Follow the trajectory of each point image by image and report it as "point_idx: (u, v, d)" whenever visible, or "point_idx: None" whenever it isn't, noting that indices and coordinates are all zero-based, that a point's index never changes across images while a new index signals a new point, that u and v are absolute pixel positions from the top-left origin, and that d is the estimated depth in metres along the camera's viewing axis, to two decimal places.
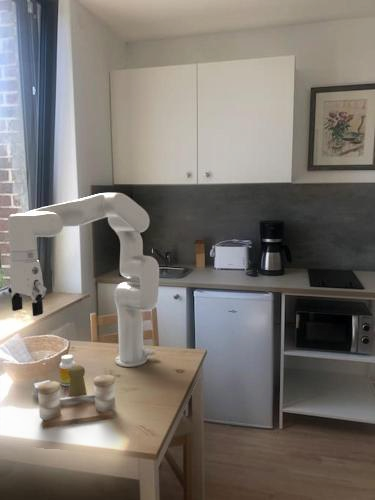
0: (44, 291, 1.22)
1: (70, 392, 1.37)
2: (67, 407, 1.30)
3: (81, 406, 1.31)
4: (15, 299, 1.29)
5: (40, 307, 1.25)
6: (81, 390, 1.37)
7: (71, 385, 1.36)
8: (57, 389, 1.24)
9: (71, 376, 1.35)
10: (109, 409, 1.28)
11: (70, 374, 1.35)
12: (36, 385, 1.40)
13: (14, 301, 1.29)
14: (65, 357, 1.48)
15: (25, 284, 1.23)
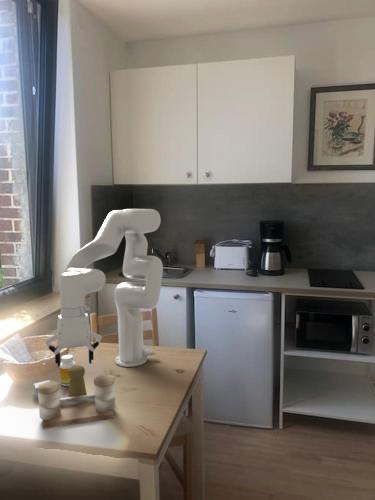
0: None
1: (70, 392, 1.37)
2: (67, 407, 1.30)
3: (81, 406, 1.31)
4: (59, 355, 1.34)
5: None
6: (81, 390, 1.37)
7: (71, 385, 1.36)
8: (57, 389, 1.24)
9: (71, 376, 1.35)
10: (109, 409, 1.28)
11: (70, 374, 1.35)
12: (36, 385, 1.40)
13: (59, 357, 1.34)
14: (65, 357, 1.48)
15: (84, 336, 1.34)
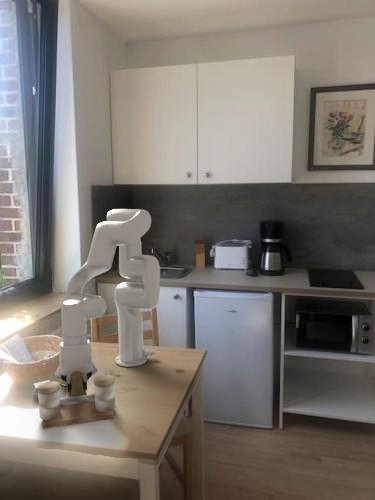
0: None
1: None
2: (67, 407, 1.30)
3: (81, 406, 1.31)
4: None
5: (86, 384, 1.39)
6: (81, 390, 1.37)
7: None
8: (57, 389, 1.24)
9: (71, 376, 1.35)
10: (109, 409, 1.28)
11: None
12: (36, 385, 1.40)
13: None
14: None
15: (86, 363, 1.36)
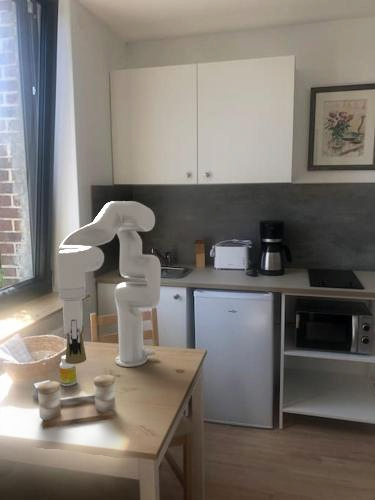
0: None
1: None
2: (67, 407, 1.30)
3: (81, 406, 1.31)
4: None
5: None
6: None
7: None
8: (57, 389, 1.24)
9: (81, 332, 1.24)
10: (109, 409, 1.28)
11: None
12: (36, 385, 1.40)
13: None
14: (65, 357, 1.48)
15: None
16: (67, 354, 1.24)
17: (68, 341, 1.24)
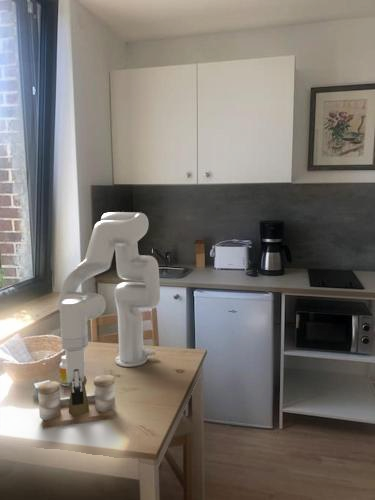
0: None
1: None
2: (67, 407, 1.30)
3: None
4: None
5: None
6: None
7: None
8: (57, 389, 1.24)
9: (83, 384, 1.27)
10: (109, 409, 1.28)
11: (82, 382, 1.26)
12: (36, 385, 1.40)
13: None
14: (65, 357, 1.48)
15: None
16: (70, 404, 1.27)
17: (71, 392, 1.27)
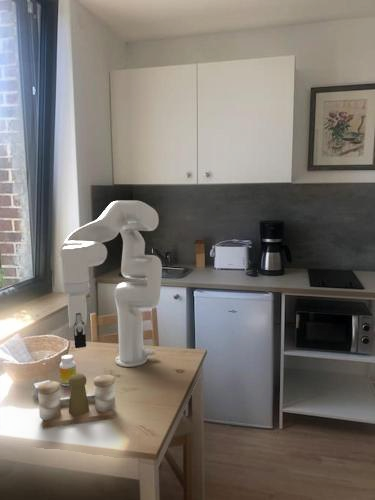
0: None
1: (82, 403, 1.27)
2: (67, 407, 1.30)
3: None
4: None
5: None
6: None
7: (82, 394, 1.27)
8: (57, 389, 1.24)
9: (83, 384, 1.27)
10: (109, 409, 1.28)
11: (82, 382, 1.26)
12: (36, 385, 1.40)
13: None
14: (65, 357, 1.48)
15: None
16: (70, 404, 1.27)
17: (71, 392, 1.27)
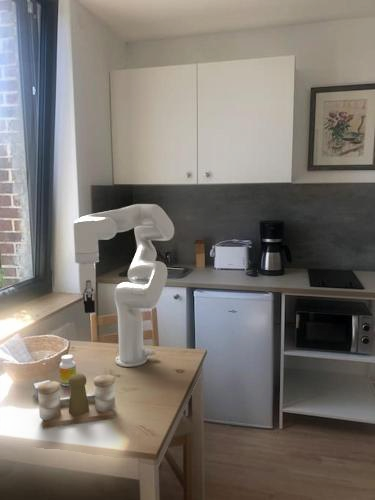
0: None
1: (82, 403, 1.27)
2: (67, 407, 1.30)
3: None
4: None
5: None
6: None
7: (82, 394, 1.27)
8: (57, 389, 1.24)
9: (83, 384, 1.27)
10: (109, 409, 1.28)
11: (82, 382, 1.26)
12: (36, 385, 1.40)
13: None
14: (65, 357, 1.48)
15: None
16: (70, 404, 1.27)
17: (71, 392, 1.27)
